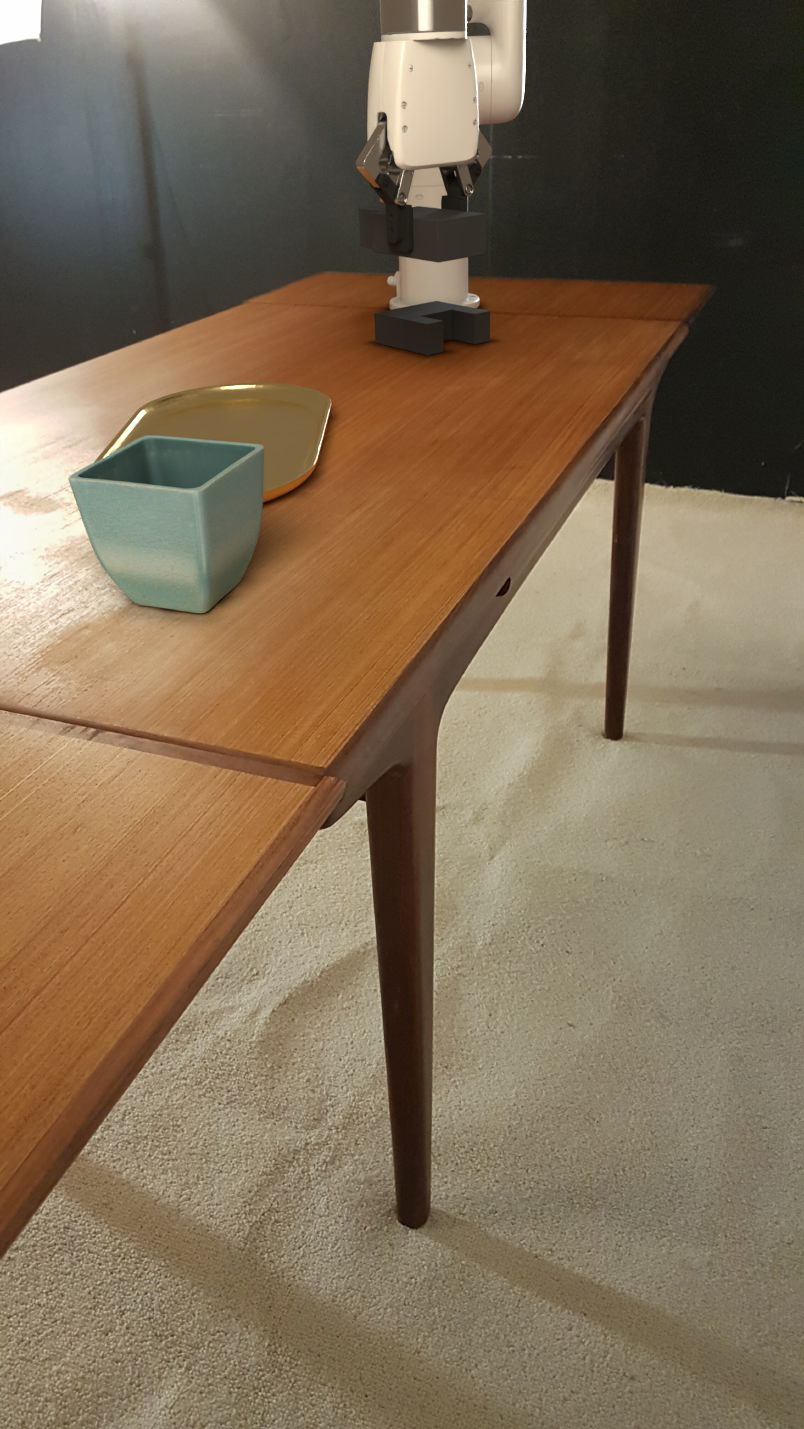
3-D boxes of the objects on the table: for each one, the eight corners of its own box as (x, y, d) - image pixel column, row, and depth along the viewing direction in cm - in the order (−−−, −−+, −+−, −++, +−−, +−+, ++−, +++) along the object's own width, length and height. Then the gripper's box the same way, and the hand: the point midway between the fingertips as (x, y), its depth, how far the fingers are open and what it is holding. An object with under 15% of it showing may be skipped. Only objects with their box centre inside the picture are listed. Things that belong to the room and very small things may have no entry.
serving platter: (60, 527, 77) (55, 507, 76) (159, 401, 107) (157, 385, 106) (308, 519, 77) (306, 499, 76) (338, 395, 106) (337, 379, 105)
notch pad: (375, 342, 126) (373, 312, 125) (436, 329, 132) (436, 300, 130) (427, 355, 120) (426, 324, 118) (490, 341, 125) (490, 310, 123)
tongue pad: (350, 248, 103) (348, 209, 101) (397, 240, 106) (396, 203, 104) (438, 262, 94) (437, 220, 92) (486, 254, 97) (486, 213, 95)
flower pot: (281, 574, 68) (267, 441, 63) (219, 634, 61) (198, 490, 56) (166, 561, 71) (144, 432, 66) (94, 617, 64) (63, 477, 59)
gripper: (468, 21, 96) (469, 232, 106) (317, 24, 87) (332, 254, 97) (525, 17, 91) (520, 238, 101) (370, 20, 82) (381, 262, 92)
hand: (428, 244), depth 99 cm, fingers closed on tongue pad, 6 cm apart
